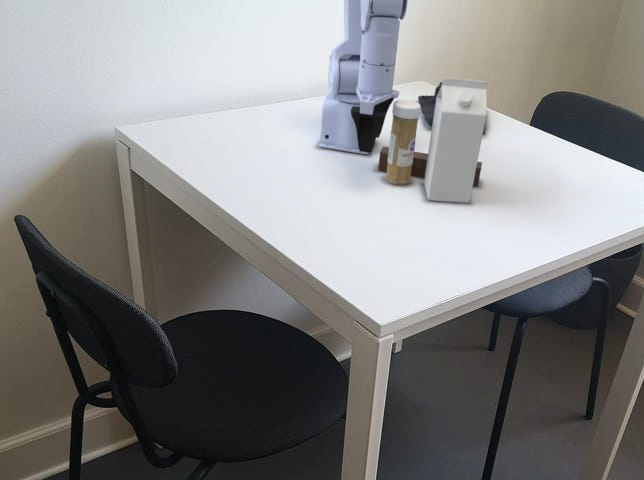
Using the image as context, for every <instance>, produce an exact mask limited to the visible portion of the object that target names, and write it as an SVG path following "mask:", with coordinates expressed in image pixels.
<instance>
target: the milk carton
mask: <svg viewBox="0 0 644 480" xmlns="http://www.w3.org/2000/svg"><path fill="white" fill-rule="evenodd" d="M441 82H442V86H441V88H440V90H439V93H438V95H437V98H436V105H435V111H434V118H433V125H432V126H431V132H430V138H429V145H428V153H427V154H428V158H427V165H426V172H425V178H423V179H424V180H423V185H424V188H425V189H424V190H425V193H426V196H427V197H426V198H427V200H428V201H437V202H452V203H463V204H464V203H465V204H469V203H470V202H471V197H472V191H473V188H474V187H473V182H474V177H475V171H476V166H477V162H479V156H480V151H481V150H480V149H481V145H482V140H483V136H484V135H483V130H484V125H485V126H486V119H487V115H488V113H487V112H488V111H487V110H488V108H487V104H488V103H487V101H488V99H487V90H488V89H487V88H488V84H489V82H488V81H484V80H473V79H459V78H450V77H448V78H447V77H443V78H442V81H441Z"/></svg>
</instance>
